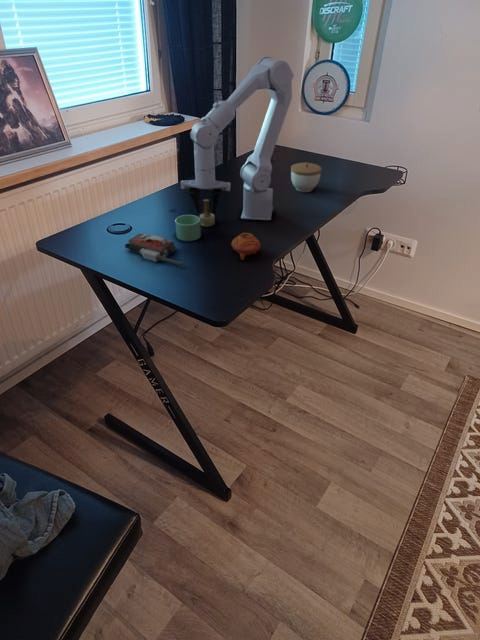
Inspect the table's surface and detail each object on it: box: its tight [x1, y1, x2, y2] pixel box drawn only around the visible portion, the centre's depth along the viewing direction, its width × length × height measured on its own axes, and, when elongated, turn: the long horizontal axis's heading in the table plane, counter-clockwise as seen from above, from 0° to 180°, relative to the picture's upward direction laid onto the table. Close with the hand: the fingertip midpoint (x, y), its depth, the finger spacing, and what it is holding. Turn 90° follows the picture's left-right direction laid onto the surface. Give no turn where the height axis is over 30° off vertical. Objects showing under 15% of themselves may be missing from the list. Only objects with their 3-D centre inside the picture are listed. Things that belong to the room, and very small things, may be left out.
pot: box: [230, 232, 262, 261], centre depth 123 cm, size 8×8×7 cm
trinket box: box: [290, 161, 323, 193], centre depth 162 cm, size 11×11×9 cm
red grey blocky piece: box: [124, 233, 184, 266], centre depth 124 cm, size 9×4×20 cm
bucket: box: [174, 214, 202, 242], centre depth 133 cm, size 7×7×5 cm
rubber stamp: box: [199, 198, 216, 227], centre depth 139 cm, size 5×5×8 cm
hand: (206, 212), depth 139 cm, fingers open, 4 cm apart
